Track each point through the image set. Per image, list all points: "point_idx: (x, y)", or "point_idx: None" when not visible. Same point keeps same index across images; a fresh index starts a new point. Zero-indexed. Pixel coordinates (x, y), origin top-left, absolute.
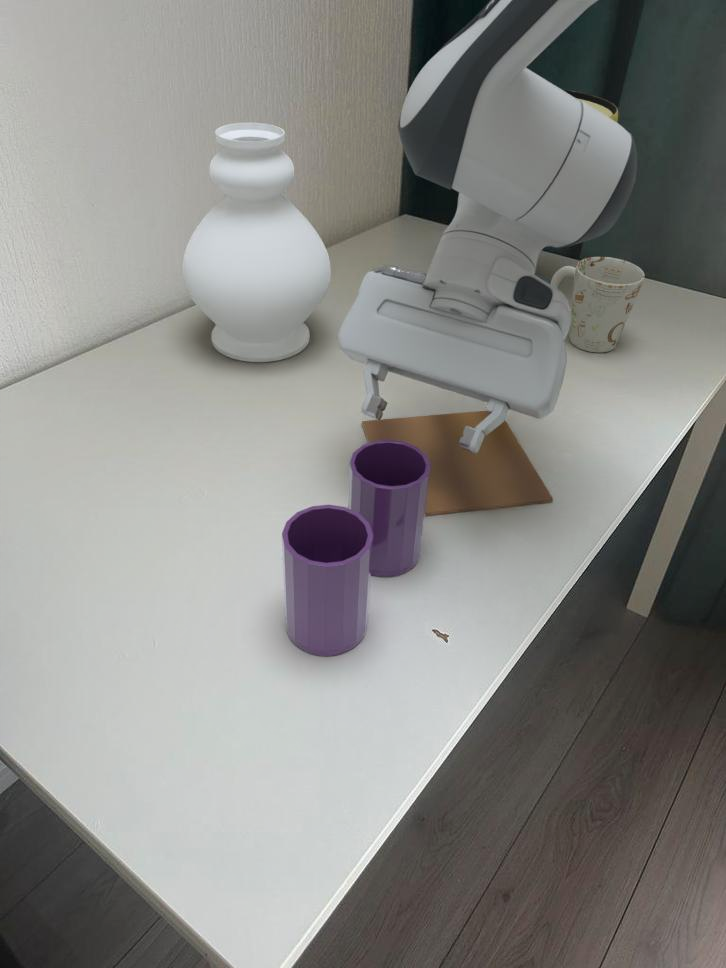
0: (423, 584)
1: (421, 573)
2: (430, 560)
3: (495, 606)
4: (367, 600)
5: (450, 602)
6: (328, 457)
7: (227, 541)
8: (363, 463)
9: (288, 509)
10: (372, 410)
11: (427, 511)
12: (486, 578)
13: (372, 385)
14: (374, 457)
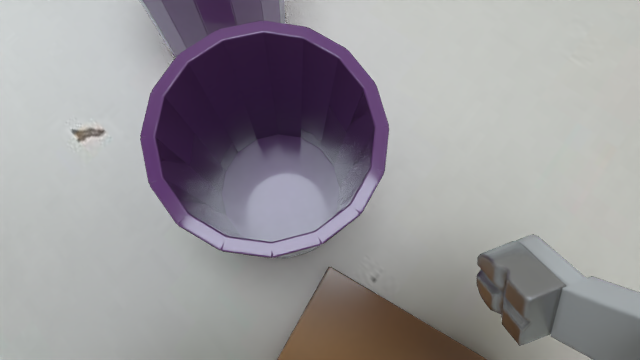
0: None
1: None
2: None
3: (57, 246)
4: (143, 6)
5: (119, 194)
6: None
7: (455, 23)
8: (364, 142)
9: (464, 137)
10: (502, 252)
11: (299, 328)
12: (108, 285)
13: (609, 305)
14: (361, 175)
